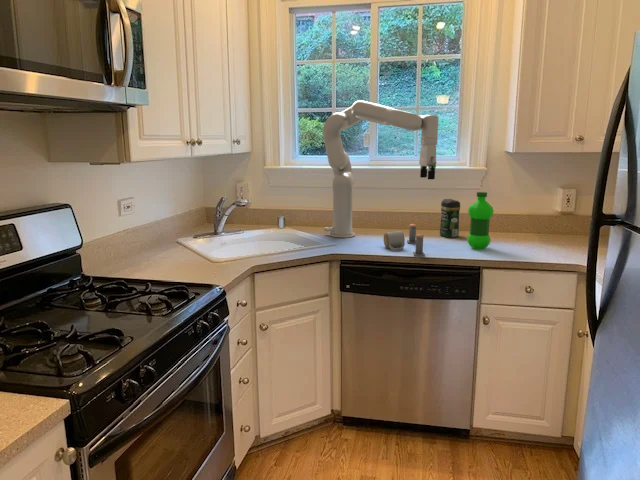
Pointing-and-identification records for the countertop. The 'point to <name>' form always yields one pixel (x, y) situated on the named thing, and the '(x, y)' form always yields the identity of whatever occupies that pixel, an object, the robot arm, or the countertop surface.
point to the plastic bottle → (480, 222)
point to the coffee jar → (450, 218)
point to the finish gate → (416, 240)
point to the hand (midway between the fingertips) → (427, 178)
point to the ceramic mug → (394, 240)
